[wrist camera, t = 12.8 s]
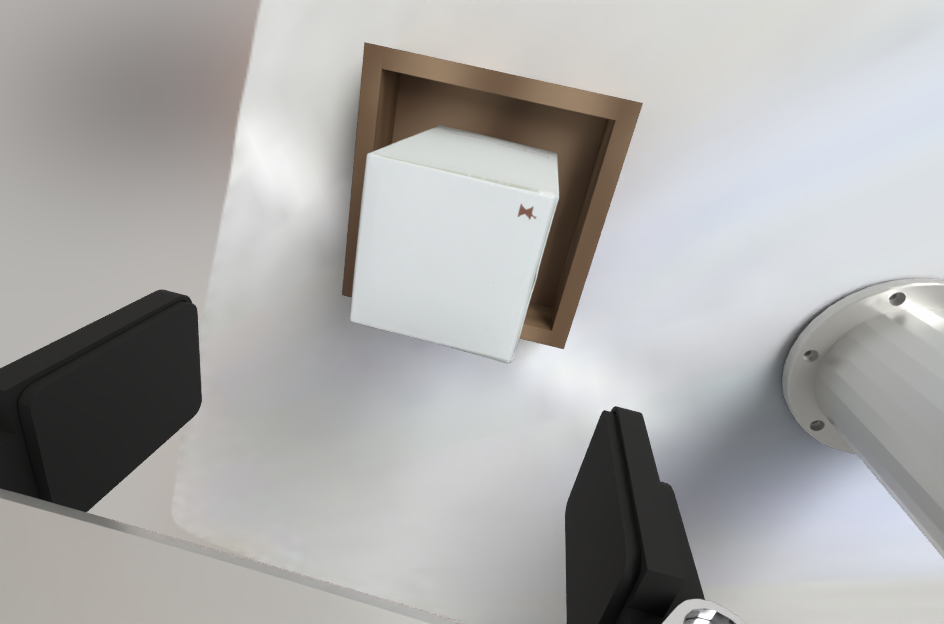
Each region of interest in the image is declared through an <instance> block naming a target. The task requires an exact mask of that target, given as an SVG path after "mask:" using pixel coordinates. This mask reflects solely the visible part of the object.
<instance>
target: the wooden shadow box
mask: <svg viewBox="0 0 944 624" xmlns="http://www.w3.org/2000/svg"><path fill="white" fill-rule="evenodd" d="M642 104H643V103H640V102H635V101H631V100H626V99H621V98H617V97H612V96H608V95H603V94H598V93H594V92H589V91H585V90H580V89H576V88H571V87H566V86H562V85H557V84H553V83H548V82H544V81H539V80H534V79H530V78H525V77H521V76H516V75H512V74H507V73H502V72H498V71H493V70H489V69H484V68H479V67H475V66H470V65H466V64H461V63H457V62H452V61H447V60H443V59H438V58H434V57H429V56H425V55H420V54H415V53H411V52H406V51H402V50H397V49H392V48H388V47H383V46H379V45H374V44H370V43H364V55H363V66H362V77H361V88H360V100H359V111H358V122H357V133H356V145H355V156H354V167H353V178H352V189H351V201H350V212H349V223H348V234H347V246H346V257H345V268H344V279H343V291H342V295H344V296H348V297H352V291H353V280H354V269H355V260H356V250H357V240H358V230H359V221H360V211H361V201H362V191H363V183H364V174H365V166H366V158H367V154H368V153H371V152H373V151H376V150H379V149H381V148H383V147H386V146H389V145H391V144H393V143H396V142H399V141H401V140H403V139H406V138H409V137H412V136H414V135H417V134H419V133H422V132H424V131H427V130H429V129H432V128H435V127H437V126H440V125H442V126H447V127H451V128H456V129H460V130H464V131H469V132H473V133H477V134H481V135H485V136H490V137H494V138H498V139H502V140H506V141H510V142H514V143H518V144H523V145H527V146H531V147H535V148H539V149H543V150H547V151H552V152H556V153H557V159H558V160H557V162H558V163H557V164H558V184H559V200H558V203H557V207H556V210H555V213H554V217H553V220H552V224H551V227H550V231H549V234H548V238H547V241H546V245H545V248H544V252H543V255H542V259H541V263H540V266H539V270H538V275H537V279H536V282H535V285H534V289H533V292H532V295H531V299H530V302H529V306H528V309H527V313H526V316H525V320H524V323H523V327H522V331H521V334H520V339H524V340H528V341H532V342H536V343H540V344H545V345H549V346H553V347H557V348H561V349H564V347H565V343H566V340H567V337H568V334H569V331H570V328H571V325H572V322H573V319H574V315H575V312H576V309H577V306H578V303H579V300H580V297H581V294H582V291H583V287H584V284H585V281H586V278H587V275H588V272H589V269H590V266H591V263H592V259H593V256H594V253H595V250H596V247H597V244H598V241H599V238H600V235H601V231H602V228H603V225H604V222H605V219H606V216H607V213H608V210H609V207H610V203H611V200H612V197H613V194H614V191H615V188H616V185H617V182H618V179H619V175H620V172H621V169H622V166H623V163H624V160H625V157H626V154H627V151H628V147H629V144H630V141H631V138H632V135H633V132H634V129H635V126H636V123H637V119H638V116H639V113H640V110H641V107H642Z"/></svg>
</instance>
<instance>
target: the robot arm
mask: <svg viewBox="0 0 944 624" xmlns="http://www.w3.org/2000/svg"><path fill="white" fill-rule="evenodd" d="M782 385H783V394H784V398H785V401H786V403H787V406H788V408H789V410H790V412H791V413H792V414H793V416H794V417H795V419H796V420H797V422H798V423H799V424H800V425H801V427H802V428H803V429H804V430H805V431H806V432H807V433H808V434H809V435H811V436H812V437H814V438H815V439H817V440H818V441H819V442H821V443H823V444H825V445H827V446H830V447H832V448H834V449H837V450H840V451H844V452H848V453H852V454H857V455H858V456H859V458H860V459H861V460H862V461H863V462H864V464H865V465H866V466H867V467H868V468H869V470H870V471H871V472H872V473H873V474H874V476H875V477H876V478H877V479H878V480H879V482H880V483H881V484H882V485H883V486H884V488H885V489H886V490H887V491H888V492H889V494H890V495H891V496H892V497H893V498H894V500H895V501H896V502H897V503H898V504H899V506H900V507H901V508H902V509H903V510H904V512H905V513H906V514H907V515H908V516H909V518H910V519H911V520H912V521H913V522H914V524H915V525H916V526H917V527H918V528H919V530H920V531H921V532H922V533H923V534H924V536H925V537H926V538H927V539H928V540H929V542H930V543H931V544H932V545H933V546H934V548H935V549H936V550H937V551H938V552H939V554H940V555H941V556H942V557H943V558H944V280H941V279H929V278H911V279H901V280H893V281H889V282H885V283H881V284H877V285H873V286H870V287H867V288H865V289H862V290H860V291H858V292H855V293H853V294H850V295H848V296H846V297H845V298H843V299H841V300H840V301H838V302H836V303H835V304H833V305H831V306H829V307H828V308H827V309H826V310H825V311H823V312H822V313H821V314H820V315H818V316H817V317H816V318H815V319H813V320H812V321H811V323H810V324H809V325H808V326H807V327H806V328H805V329H804V330H803V331H802V333H801V334H800V335H799V336H798V338H797V340H796V341H795V343H794V344H793V346H792V348H791V349H790V351H789V354H788V357H787V359H786V362H785V365H784V370H783V378H782ZM201 402H202V394H201V374H200V354H199V334H198V314H197V308H196V306H195V305H194V304H192V301H191V299H190V298H189V297H188V296H186V295H182V294H178V293H174V292H170V291H167V290H158V291H155V292H153V293H151V294H149V295H147V296H145V297H143V298H141V299H139V300H137V301H135V302H133V303H131V304H129V305H127V306H125V307H123V308H121V309H119V310H117V311H115V312H113V313H111V314H109V315H107V316H105V317H103V318H101V319H99V320H97V321H95V322H93V323H91V324H89V325H87V326H85V327H83V328H81V329H79V330H77V331H75V332H73V333H71V334H69V335H67V336H65V337H63V338H61V339H59V340H57V341H55V342H53V343H51V344H49V345H47V346H45V347H43V348H41V349H39V350H37V351H35V352H33V353H31V354H28V355H26V356H24V357H22V358H20V359H19V360H16V361H14V362H12V363H10V364H8V365H6V366H4V367H2V368H0V624H465V623H462V622H459V621H456V620H452V619H449V618H446V617H443V616H440V615H436V614H433V613H430V612H426V611H423V610H419V609H416V608H413V607H409V606H406V605H403V604H399V603H396V602H392V601H389V600H386V599H382V598H379V597H376V596H372V595H369V594H365V593H362V592H359V591H355V590H352V589H349V588H345V587H342V586H338V585H335V584H332V583H328V582H325V581H322V580H318V579H315V578H312V577H308V576H305V575H301V574H298V573H294V572H291V571H288V570H284V569H281V568H277V567H274V566H270V565H267V564H264V563H260V562H257V561H253V560H250V559H246V558H243V557H240V556H236V555H233V554H229V553H226V552H222V551H219V550H215V549H212V548H208V547H205V546H202V545H198V544H195V543H191V542H188V541H184V540H181V539H177V538H174V537H170V536H167V535H164V534H160V533H157V532H153V531H150V530H146V529H143V528H139V527H135V526H132V525H128V524H125V523H121V522H118V521H114V520H111V519H107V518H104V517H100V516H97V515H93V514H89V513H86V512H87V511H89V510H90V509H91V508H92V507H93V506H94V505H95V504H96V503H97V502H98V501H100V500H101V499H102V498H103V497H104V496H105V495H106V494H108V493H109V492H110V491H111V490H112V489H113V488H114V487H115V486H117V485H118V484H119V483H120V482H121V481H122V480H123V479H124V478H125V477H127V476H128V475H129V474H130V473H131V472H132V471H133V470H134V469H136V468H137V467H138V466H139V465H140V464H141V463H142V462H143V461H144V460H146V459H147V458H148V457H149V456H150V455H151V454H152V453H154V452H155V451H156V450H157V449H158V448H159V447H160V446H161V445H162V444H164V443H165V442H166V441H167V440H168V439H169V438H170V437H171V436H173V435H174V434H175V433H176V432H177V431H178V430H179V429H180V428H182V427H183V426H184V425H185V424H186V423H187V422H188V421H189V420H190V419H192V418H193V417H194V416H195V415H196V414H197V412H198V411H199V408H200V406H201ZM565 540H566V602H567V624H746V623H745V622H744V621H743V620H742V619H741V618H739V617H738V616H737V615H735V614H734V613H732V612H731V611H730V610H728V609H727V608H725V607H723V606H720V605H718V604H716V603H714V602H712V601H707V600H705V598H704V595H703V591H702V588H701V584H700V581H699V577H698V574H697V570H696V567H695V563H694V560H693V557H692V553H691V550H690V546H689V543H688V539H687V536H686V532H685V529H684V525H683V522H682V518H681V515H680V511H679V508H678V505H677V501H676V498H675V494H674V491H673V489H672V487H671V486H670V485H669V484H668V483H664V482H660V480H659V476H658V472H657V468H656V464H655V461H654V457H653V453H652V449H651V445H650V441H649V437H648V434H647V430H646V426H645V422H644V418H643V415H642V413H640V412H636V411H632V410H628V409H624V408H620V407H616V406H615V407H613V409H612V410H611V412H609V411H605V410H604V411H603V412H602V414H601V416H600V418H599V421H598V424H597V426H596V429H595V431H594V434H593V437H592V439H591V442H590V444H589V447H588V449H587V452H586V455H585V457H584V460H583V462H582V465H581V468H580V470H579V473H578V475H577V478H576V481H575V483H574V486H573V488H572V491H571V494H570V496H569V499H568V502H567V506H566V512H565Z"/></svg>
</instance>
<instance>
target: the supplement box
mask: <svg viewBox="0 0 944 624" xmlns="http://www.w3.org/2000/svg"><path fill="white" fill-rule="evenodd" d="M557 160H558V159H557V153H556V152H552V151H547V150H543V149H539V148H535V147H531V146H527V145H523V144H518V143H514V142H510V141H506V140H502V139H498V138H494V137H490V136H485V135H481V134H477V133H473V132H469V131H464V130H460V129H456V128H451V127H447V126H442V125H440V126H437V127H435V128H432V129H429V130H427V131H424V132H422V133H419V134H417V135H414V136H412V137H409V138H406V139H403V140H401V141H399V142H396V143H393V144H391V145H389V146H386V147H383V148H381V149H379V150H376V151H373V152H371V153H368V154H367V158H366V166H365V174H364V183H363V191H362V201H361V211H360V221H359V230H358V240H357V250H356V260H355V269H354V280H353V291H352V301H351V313H350V321H351V322H354V323H358V324H362V325H366V326H370V327H374V328H378V329H381V330H385V331H389V332H393V333H397V334H401V335H405V336H409V337H413V338H417V339H421V340H425V341H429V342H433V343H437V344H440V345H444V346H447V347H451V348H455V349H458V350H462V351H465V352H469V353H472V354H476V355H480V356H483V357H487V358H491V359H494V360H498V361H501V362H504V363H510V362H512V360H513V358H514V356H515V352H516V349H517V345H518V341H519V338H520V334H521V331H522V327H523V323H524V320H525V316H526V313H527V309H528V306H529V302H530V299H531V295H532V292H533V289H534V285H535V282H536V279H537V275H538V270H539V266H540V263H541V259H542V255H543V252H544V248H545V245H546V241H547V238H548V234H549V231H550V227H551V224H552V220H553V217H554V213H555V210H556V207H557V203H558V200H559V184H558V164H557V163H558V162H557Z"/></svg>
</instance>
